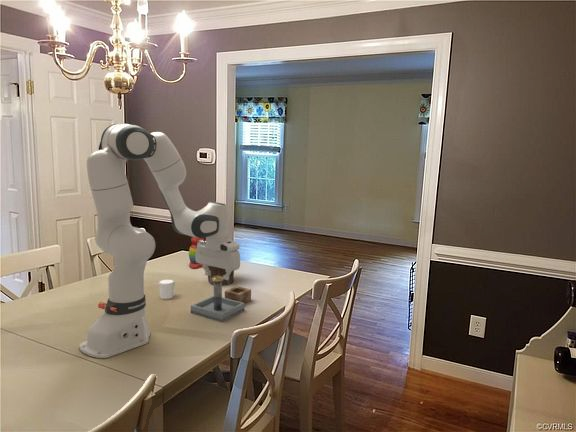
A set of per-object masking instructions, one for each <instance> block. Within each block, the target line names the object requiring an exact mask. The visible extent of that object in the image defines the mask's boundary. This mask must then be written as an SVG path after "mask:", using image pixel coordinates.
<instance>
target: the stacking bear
mask: <svg viewBox="0 0 576 432" xmlns="http://www.w3.org/2000/svg"><path fill="white" fill-rule="evenodd" d="M200 240H203V241H205V238H196V237H192V236H191V239H190V241H191V246H190V247H189V250H188V258H189V264H188V266H189V268H190V269H192V270H197V269H200V268H203V264H200V263H197V262H196V260H195V257H196V249H197V243H198V242H199V241H200ZM199 243H200V242H199Z"/></svg>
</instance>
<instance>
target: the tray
mask: <svg viewBox="0 0 576 432" xmlns="http://www.w3.org/2000/svg"><path fill="white" fill-rule="evenodd" d="M245 304H246V303H242V302H238V301H235V300H231V299H227V298H225V297H223V296H222V310H219V311H216V310H214V295H211V296H209V297H206V298H205V299H203V300H201V301H197V302H196V303H194V304H193V303H192V304H191V305H190V314H194V315H196V316H197V315H198V316H201V317H203V318H208V319H210V320H214V321H217V322H221V323H224V322H225V321H227V320H229V319H230V318H232V317H234V316H236V315H238V314H240V313H242V312H244V311H245Z"/></svg>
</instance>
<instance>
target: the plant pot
mask: <svg viewBox="0 0 576 432" xmlns="http://www.w3.org/2000/svg"><path fill="white" fill-rule="evenodd" d="M208 268H209V271H211V275H209V276H207V282H208V283H209V284H210V285H212V286H214V282H213V281H212V277H213V276H223V275H226V273H227V272H226V269H222V268H218V267H213V266H208ZM234 276H235V271H232V272H231V273H230V275H229V280H223V281H222V286H228V285H231V284H232V283H233V282H234V278H235V277H234ZM223 278H224V277H223Z"/></svg>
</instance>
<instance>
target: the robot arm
mask: <svg viewBox="0 0 576 432" xmlns="http://www.w3.org/2000/svg"><path fill="white" fill-rule="evenodd" d="M129 160H130V161H140V160H144V161H145V163H146V165H147V167H148V168H149V170H150V172H151V174H152V176H153V178H154V180H155V181H156V183H157V186H158V189H159V192H160V193H161V195H162V198H163V200H164V202H165V204H166V206H167V208H168V211H169V214H170V219H171V220H170V221H171V226H172V229H173V230H174V232H176V233H177V234H179V235H184V236H189V237H191V238H192V237H196V238H204V239H205V240H204V241H203V240H200V241H199V242H200V243H199V242H198V243H197V249H196V257H195V260H196V262H197V263H200V264H203V267H202V268H203V271H204V275H205V276H207V277H208V276H209V275H211V271H209V268H208V266H213V267H218V268H222V269H226V272H227V273H226V275H223V277H224V278H223V279H224V280H229V275H230V273H231V272H232V271H234V272H235V271H237V270H239V269H240V266H241V256H240V255H241V254H240V251H239V250H240V244H239V243H238V242H236V241H234V240H232V239H231V238H230V234H229V227H230V212H229V211H230V210H229V207H228V205H227V204H225V203H221V202H217V201H209V202H208V203H207V205H206V206H204V207H203V208H201V209H199V210H196V211H195V210H193V209H191V208H189V207H188V206H187V205H186V204H185V201H184V198H183V197H182V194H181V192H180V190H179V187H180V185H182V184H183V183H184V181H185V180H186V178H187V170H186V166H185V163H184V161H183V159H182V157H181V155H180V153H179V152H178V149H177V147H176V146H175V144H174V143H173V142H172V141H171V139H170V138H169V137H168V136H167V134H165V132H161V131H154V132H151V133H150V132H149V131H147V130H146V129H144V128H143V127H141V126H139V125H135V124H129V123H113V124H111V125H109V126H107V127H106V128H105V129H104V130H103V132H102V134H101V138H100V142H99V145H98V150H96V151H94V152H92V153H91V154H89V156H88V157H87V160H86V170H87V179H88V184H89V188H90V191H91V195H92V198H93V203H94V207H95V208H96V215H97V216H96V217H97V229H96V231H95V234H94V241H95V244H96V246H97V247H98V248H99V249H100V250H101V251H102V252H103V253H106V254H107V255H108V254H109V255H111V256H114V265H113V267H112V268H113V269H112V271H111V272H110V273H109V274H108V277H107V281H108V298H107V302H106V303H105V302H103V301H100V302H99V303H98V304H97V307H98V309H101V310H104V311H103V313H102V314H101V315H99V317H98V318H97V319H96V320H95V321H94V322H93V323H92V324H91V326H90V327H89V328H88V330H87V334H86V340H84V341H83V342H80V343H79V350H80V352H82V353H83V354H85V355H86V356H90V357H93V358H97V359H107V358H110V357H113V356H116V355H119V354H121V353H124V352H127V351H129V350H132V349H135V348H138V347H140V346H144V345H147V344H148V343H149V342H150V340H149V337H150V335H151V331H150V327H149V324H148V322H147V321H148V320H147V316H146V305H147V303H146V294H145V287H144V286H145V285H144V284H145V280H144V279H145V278H144V277H145V270H146V265H147V261H148V260H149V259H150V258H152V256H153V255H154V253H155V250H156V241H155V238H154V237H153V235H152V234H150V233H149V232H147V231H146V230H145V229H143V228H140V227H136V226H133V225H132V223H131V219H130V218H131V210H132V209H133V207H134V201H133V197H132V194H131V190H130V186H129V181H128V178H127V174H126V164H127V161H129Z"/></svg>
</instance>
